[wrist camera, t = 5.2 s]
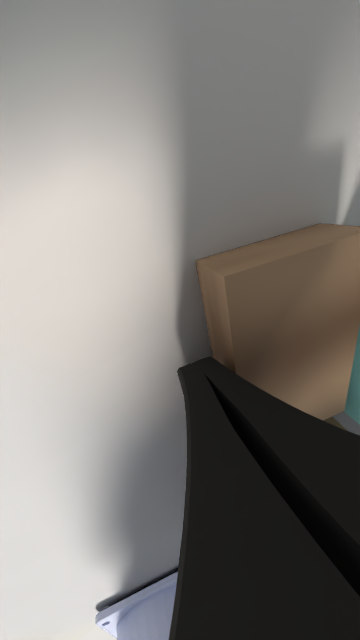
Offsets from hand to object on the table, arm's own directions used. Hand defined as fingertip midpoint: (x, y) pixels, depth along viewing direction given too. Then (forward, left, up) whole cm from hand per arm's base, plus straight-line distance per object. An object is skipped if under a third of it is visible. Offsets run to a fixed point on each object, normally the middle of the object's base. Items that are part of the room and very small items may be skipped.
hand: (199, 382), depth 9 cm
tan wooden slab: (0, -3, -1) cm, 4 cm away
